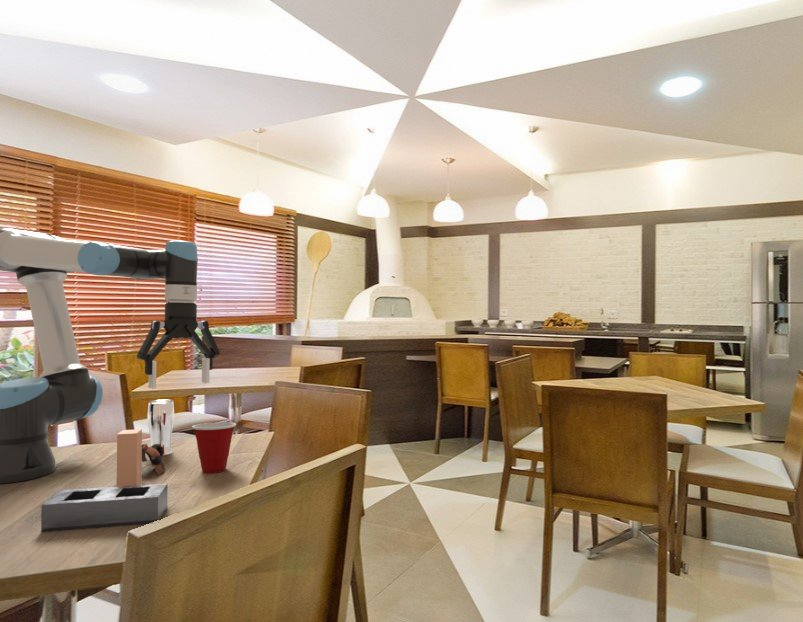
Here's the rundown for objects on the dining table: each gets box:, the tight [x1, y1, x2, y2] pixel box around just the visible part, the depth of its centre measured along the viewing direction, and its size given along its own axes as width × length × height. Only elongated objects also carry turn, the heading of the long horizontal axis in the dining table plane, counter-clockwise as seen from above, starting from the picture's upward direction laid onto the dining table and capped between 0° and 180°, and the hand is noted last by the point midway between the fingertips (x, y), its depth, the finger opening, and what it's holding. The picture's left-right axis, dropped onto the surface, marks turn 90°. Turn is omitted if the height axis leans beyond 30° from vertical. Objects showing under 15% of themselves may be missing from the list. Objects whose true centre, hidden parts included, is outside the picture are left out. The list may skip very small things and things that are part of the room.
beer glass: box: [147, 399, 175, 457], centre depth 147 cm, size 7×7×15 cm
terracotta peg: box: [116, 428, 143, 487], centre depth 114 cm, size 4×4×14 cm
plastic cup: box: [191, 421, 237, 474], centre depth 132 cm, size 11×11×12 cm
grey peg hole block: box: [40, 482, 168, 533], centre depth 101 cm, size 20×8×5 cm, turn 103°
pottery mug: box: [142, 443, 166, 476], centre depth 131 cm, size 12×10×8 cm
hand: (179, 385), depth 130 cm, fingers open, 13 cm apart
